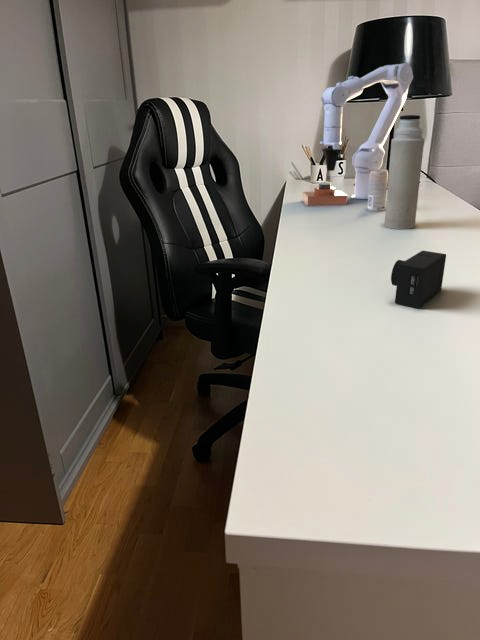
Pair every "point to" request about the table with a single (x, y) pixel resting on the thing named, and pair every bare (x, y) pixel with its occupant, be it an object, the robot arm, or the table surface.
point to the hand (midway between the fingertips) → (330, 170)
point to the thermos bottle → (404, 174)
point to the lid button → (324, 186)
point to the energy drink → (377, 190)
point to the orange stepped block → (324, 197)
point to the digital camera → (418, 278)
